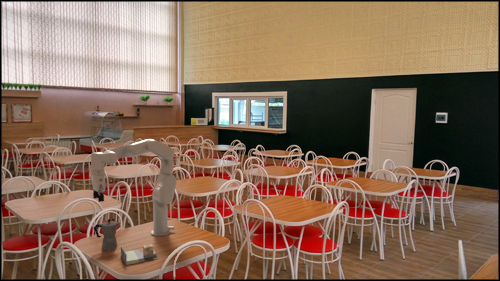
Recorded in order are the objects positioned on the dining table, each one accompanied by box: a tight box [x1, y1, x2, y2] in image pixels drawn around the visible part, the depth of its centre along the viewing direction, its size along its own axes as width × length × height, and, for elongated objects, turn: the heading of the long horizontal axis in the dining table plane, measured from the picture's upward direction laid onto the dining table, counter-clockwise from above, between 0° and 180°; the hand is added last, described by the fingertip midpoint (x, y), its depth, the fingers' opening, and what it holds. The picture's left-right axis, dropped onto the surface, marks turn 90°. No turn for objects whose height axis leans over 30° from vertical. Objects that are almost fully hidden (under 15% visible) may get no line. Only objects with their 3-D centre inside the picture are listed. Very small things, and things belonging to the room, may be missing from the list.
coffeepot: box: [93, 218, 121, 251], centre depth 226 cm, size 15×9×18 cm, turn 119°
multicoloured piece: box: [120, 245, 159, 266], centre depth 214 cm, size 18×14×6 cm
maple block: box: [142, 243, 154, 254], centre depth 216 cm, size 5×4×4 cm
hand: (98, 199), depth 229 cm, fingers open, 9 cm apart
